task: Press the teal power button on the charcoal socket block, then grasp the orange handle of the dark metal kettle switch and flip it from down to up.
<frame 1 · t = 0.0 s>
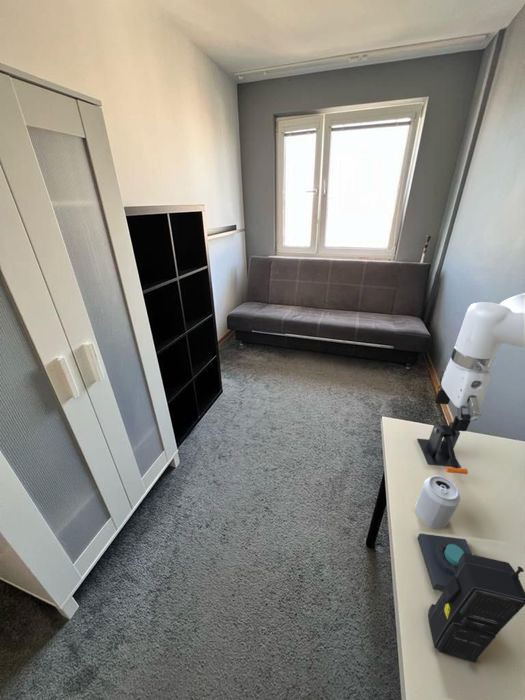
hand: (449, 415, 70), 23 cm above the table, tool pointing down, fingers open, 9 cm apart
socket block: (448, 565, 62), on the table
kettle bracket: (436, 454, 88), on the table
can: (430, 516, 71), on the table
portable radio: (447, 635, 52), on the table
socket button: (454, 555, 60), point 4 cm above the table, slide at 0.1 cm
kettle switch: (450, 449, 80), point 8 cm above the table, hinge at -25.0°
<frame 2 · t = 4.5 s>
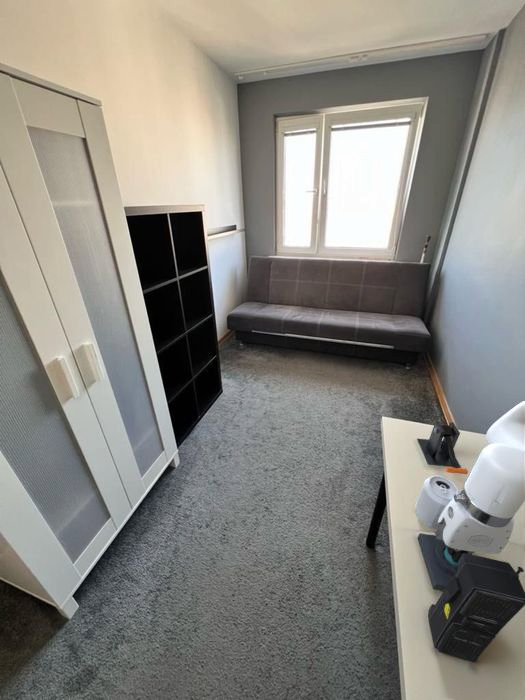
hand: (454, 554, 59), 5 cm above the table, tool pointing down, fingers closed
socket button: (453, 556, 60), point 4 cm above the table, slide at -0.7 cm, touching gripper
everything else where it was.
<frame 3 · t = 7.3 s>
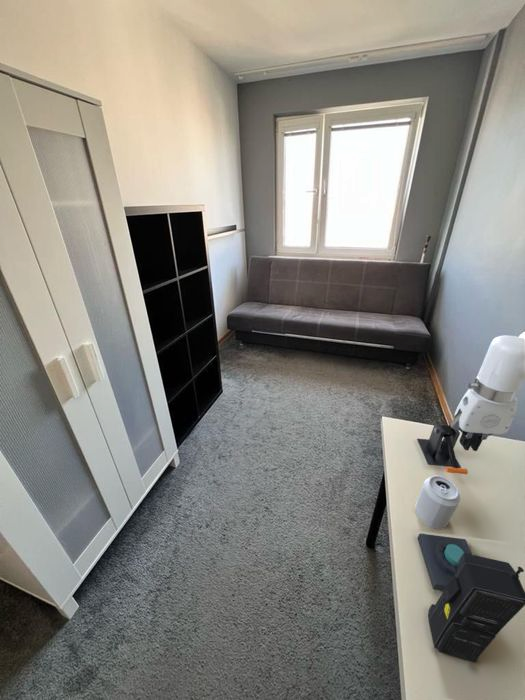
hand: (467, 446, 72), 15 cm above the table, tool pointing down, fingers closed
socket button: (454, 555, 60), point 4 cm above the table, slide at 0.1 cm
everything else where it was.
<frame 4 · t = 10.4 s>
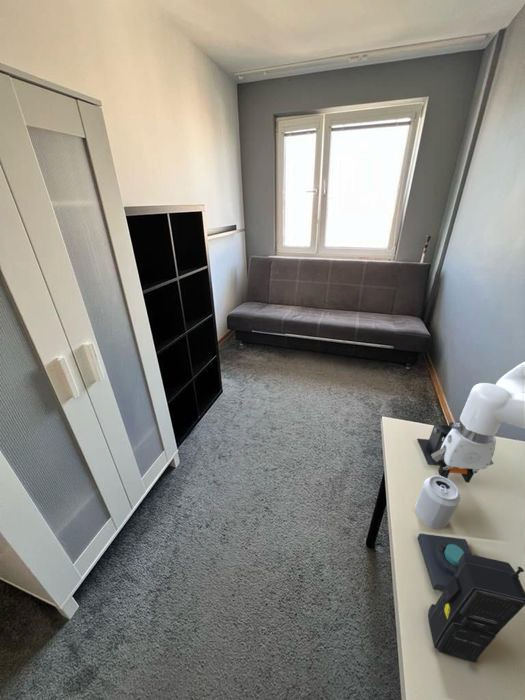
hand: (453, 476, 78), 3 cm above the table, tool pointing down, fingers closed on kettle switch, 5 cm apart
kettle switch: (450, 449, 80), point 8 cm above the table, hinge at -25.0°, touching gripper
everything else where it was.
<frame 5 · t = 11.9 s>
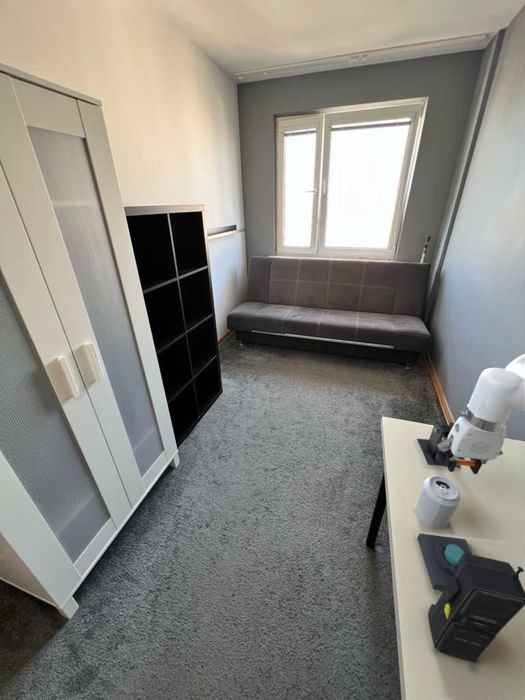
hand: (460, 467, 74), 8 cm above the table, tool pointing down, fingers closed on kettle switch, 5 cm apart
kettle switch: (453, 445, 78), point 10 cm above the table, hinge at -0.4°, touching gripper
everything else where it was.
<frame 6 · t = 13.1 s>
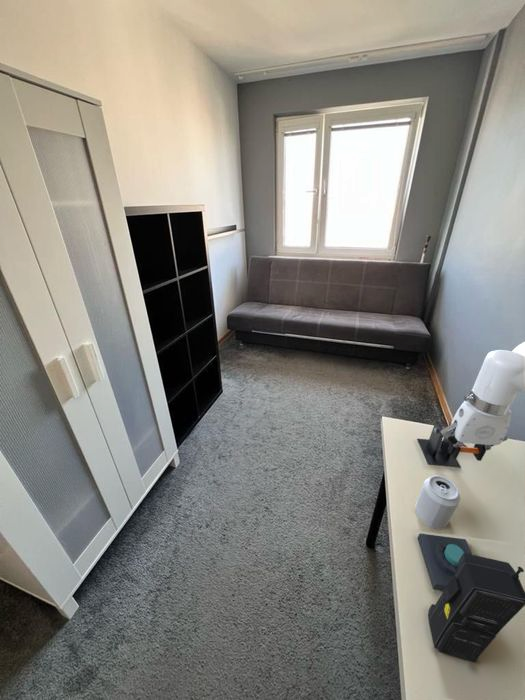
hand: (464, 454, 73), 12 cm above the table, tool pointing down, fingers closed on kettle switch, 5 cm apart
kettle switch: (455, 439, 78), point 12 cm above the table, hinge at 20.5°, touching gripper
everything else where it was.
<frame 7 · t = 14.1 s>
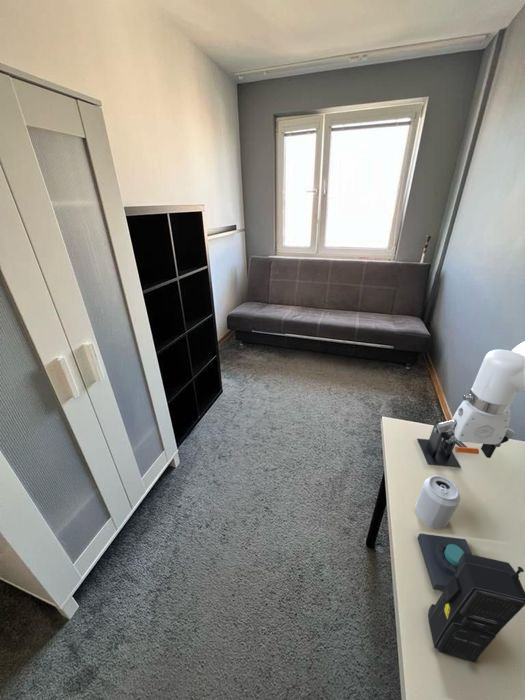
hand: (464, 451, 73), 13 cm above the table, tool pointing down, fingers open, 9 cm apart
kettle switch: (455, 439, 78), point 12 cm above the table, hinge at 20.1°
everything else where it was.
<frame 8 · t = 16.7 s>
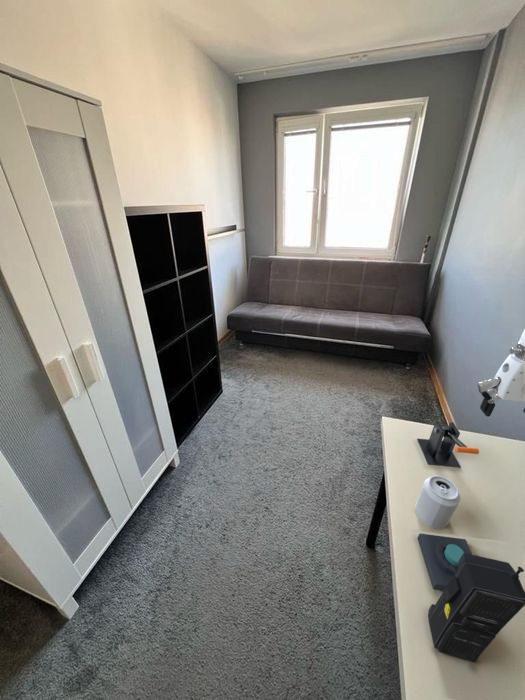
hand: (506, 414, 68), 24 cm above the table, tool pointing down, fingers open, 9 cm apart
nothing on the table moved.
at the end: socket button pushed in 1.1 cm at the most during the clip, back to where it started at the end; socket button slide at 0.1 cm; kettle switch at +20° (first picture: -25°) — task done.
